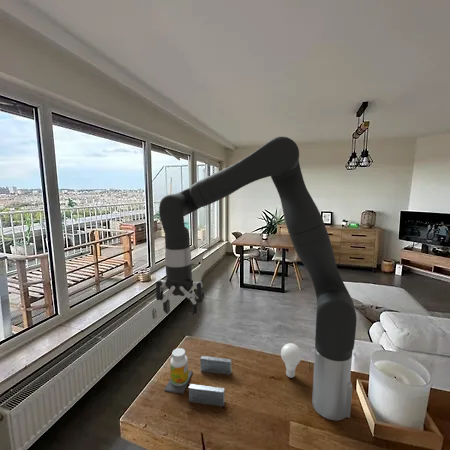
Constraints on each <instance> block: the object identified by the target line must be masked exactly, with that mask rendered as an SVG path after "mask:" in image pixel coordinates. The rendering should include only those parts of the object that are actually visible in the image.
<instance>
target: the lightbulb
mask: <svg viewBox="0 0 450 450" xmlns="http://www.w3.org/2000/svg"><path fill="white" fill-rule="evenodd" d="M280 357H281V359H282V361H283V363H284V365H285V368H286V370H285V375H286V376H287V377H288V378H294V377H295V376H296V368H297V366H298V364H300V362H301V360H302V357H303V355H302V351H301V348H300V347H299V346H298V345H296V343H292V342H289V343H286V344H284V345H283V346H282V347H281V349H280Z"/></svg>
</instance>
